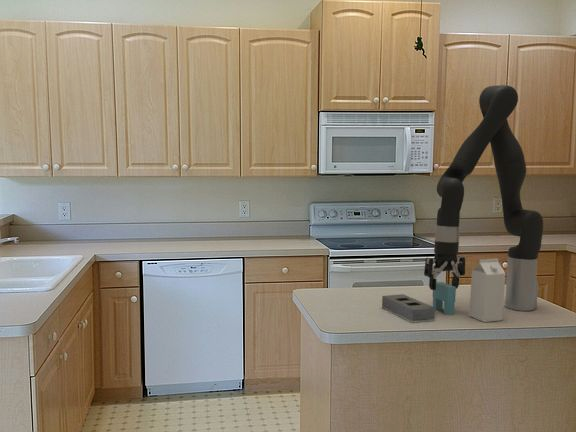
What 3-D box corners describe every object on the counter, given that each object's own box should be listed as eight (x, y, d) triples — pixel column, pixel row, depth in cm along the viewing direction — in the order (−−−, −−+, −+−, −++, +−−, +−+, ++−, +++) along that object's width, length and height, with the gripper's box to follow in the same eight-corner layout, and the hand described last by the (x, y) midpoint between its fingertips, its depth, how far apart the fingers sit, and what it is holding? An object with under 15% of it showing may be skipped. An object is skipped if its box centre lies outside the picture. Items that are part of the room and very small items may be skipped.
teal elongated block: (431, 308, 190) (433, 282, 189) (439, 307, 191) (440, 281, 190) (446, 315, 183) (448, 287, 182) (454, 314, 184) (455, 286, 183)
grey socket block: (382, 307, 190) (382, 295, 190) (402, 305, 193) (403, 294, 192) (412, 322, 173) (412, 310, 173) (434, 320, 176) (435, 307, 176)
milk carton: (469, 316, 182) (472, 257, 179) (487, 314, 184) (490, 256, 182) (484, 322, 175) (487, 261, 173) (502, 320, 177) (506, 260, 175)
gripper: (457, 237, 190) (454, 285, 192) (421, 238, 185) (418, 287, 186) (472, 240, 183) (469, 290, 185) (435, 241, 178) (432, 292, 179)
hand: (443, 289), depth 186 cm, fingers open, 8 cm apart
